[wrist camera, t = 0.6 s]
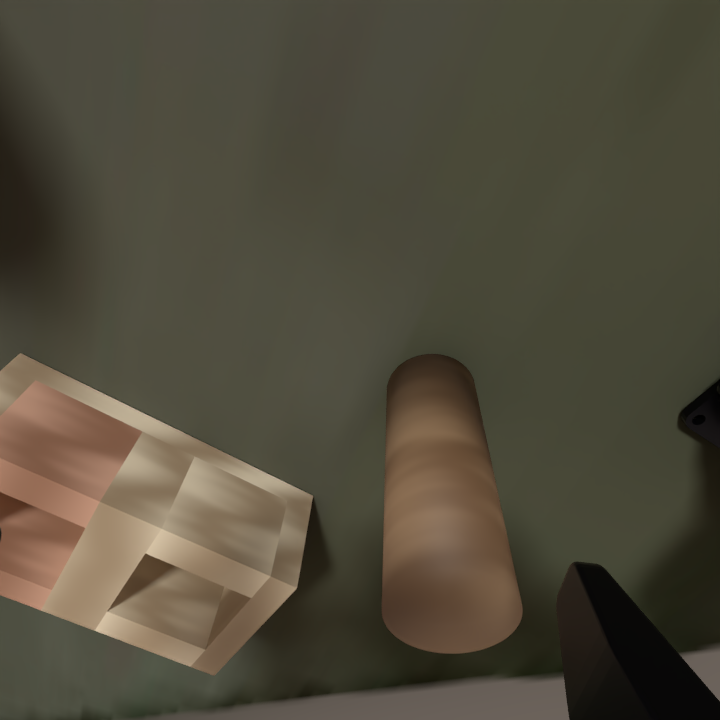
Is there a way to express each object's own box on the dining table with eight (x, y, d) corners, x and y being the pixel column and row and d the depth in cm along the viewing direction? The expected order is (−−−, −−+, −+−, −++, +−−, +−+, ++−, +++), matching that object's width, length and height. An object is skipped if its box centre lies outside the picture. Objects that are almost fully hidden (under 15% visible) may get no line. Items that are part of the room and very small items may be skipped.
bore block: (313, 495, 26) (297, 588, 22) (239, 582, 30) (214, 675, 26) (20, 352, 23) (-66, 429, 19) (-21, 470, 27) (-100, 557, 22)
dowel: (493, 382, 22) (552, 605, 14) (439, 438, 24) (463, 668, 16) (420, 338, 22) (437, 548, 13) (370, 400, 23) (355, 621, 15)
